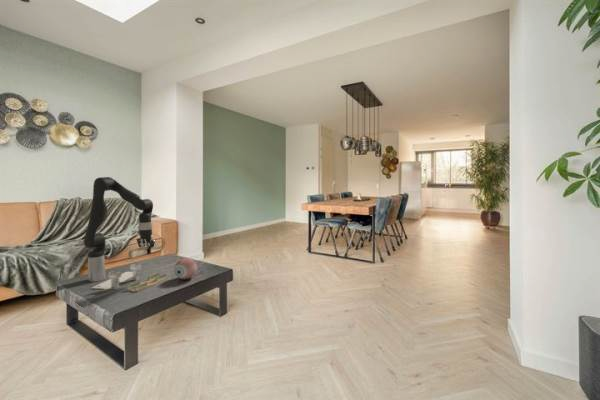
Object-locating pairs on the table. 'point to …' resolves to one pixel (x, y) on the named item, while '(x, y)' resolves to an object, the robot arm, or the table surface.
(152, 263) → the table surface
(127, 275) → the baseboard
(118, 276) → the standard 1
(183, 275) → the eyeball
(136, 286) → the rack
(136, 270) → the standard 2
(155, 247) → the rail
